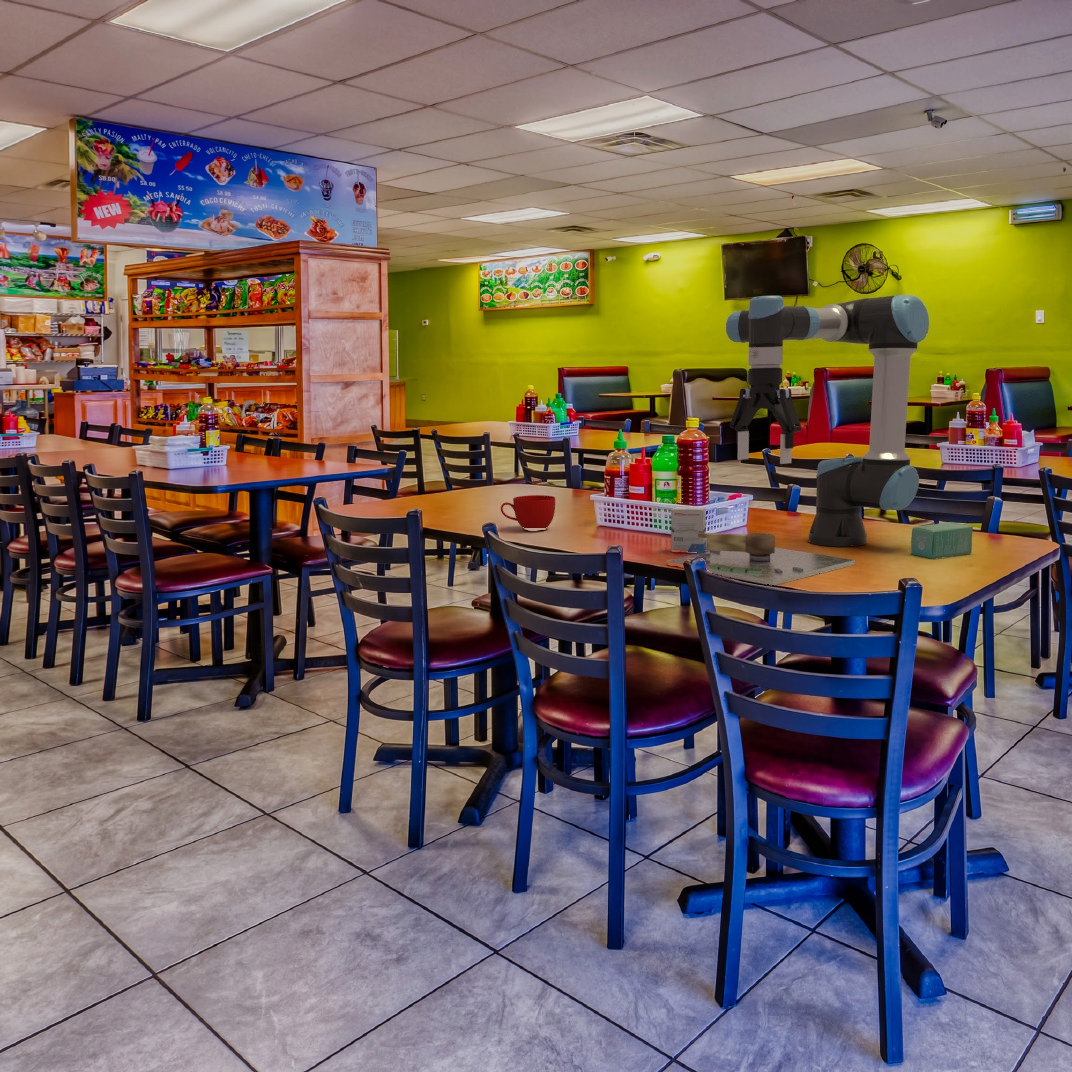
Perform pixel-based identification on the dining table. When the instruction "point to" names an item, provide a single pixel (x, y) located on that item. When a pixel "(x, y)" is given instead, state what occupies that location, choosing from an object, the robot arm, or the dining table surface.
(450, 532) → the dining table surface
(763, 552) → the dial
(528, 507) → the ceramic cup
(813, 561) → the tuner plate
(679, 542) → the ink box
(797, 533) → the dining table surface
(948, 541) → the box
